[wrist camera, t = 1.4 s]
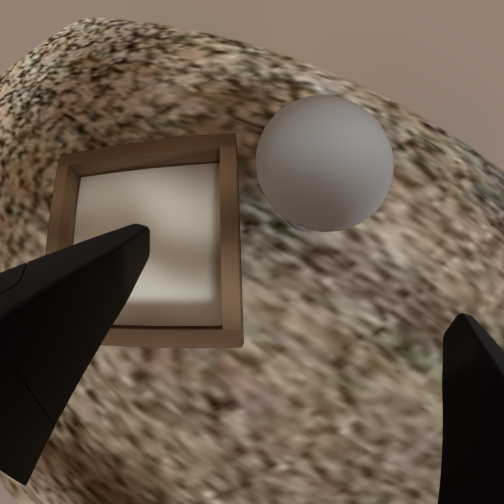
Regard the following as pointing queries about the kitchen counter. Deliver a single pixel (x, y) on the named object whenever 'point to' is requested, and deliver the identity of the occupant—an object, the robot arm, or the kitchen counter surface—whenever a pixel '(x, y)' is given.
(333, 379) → the kitchen counter surface
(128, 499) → the kitchen counter surface
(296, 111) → the lightbulb
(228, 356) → the kitchen counter surface
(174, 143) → the walnut tray
